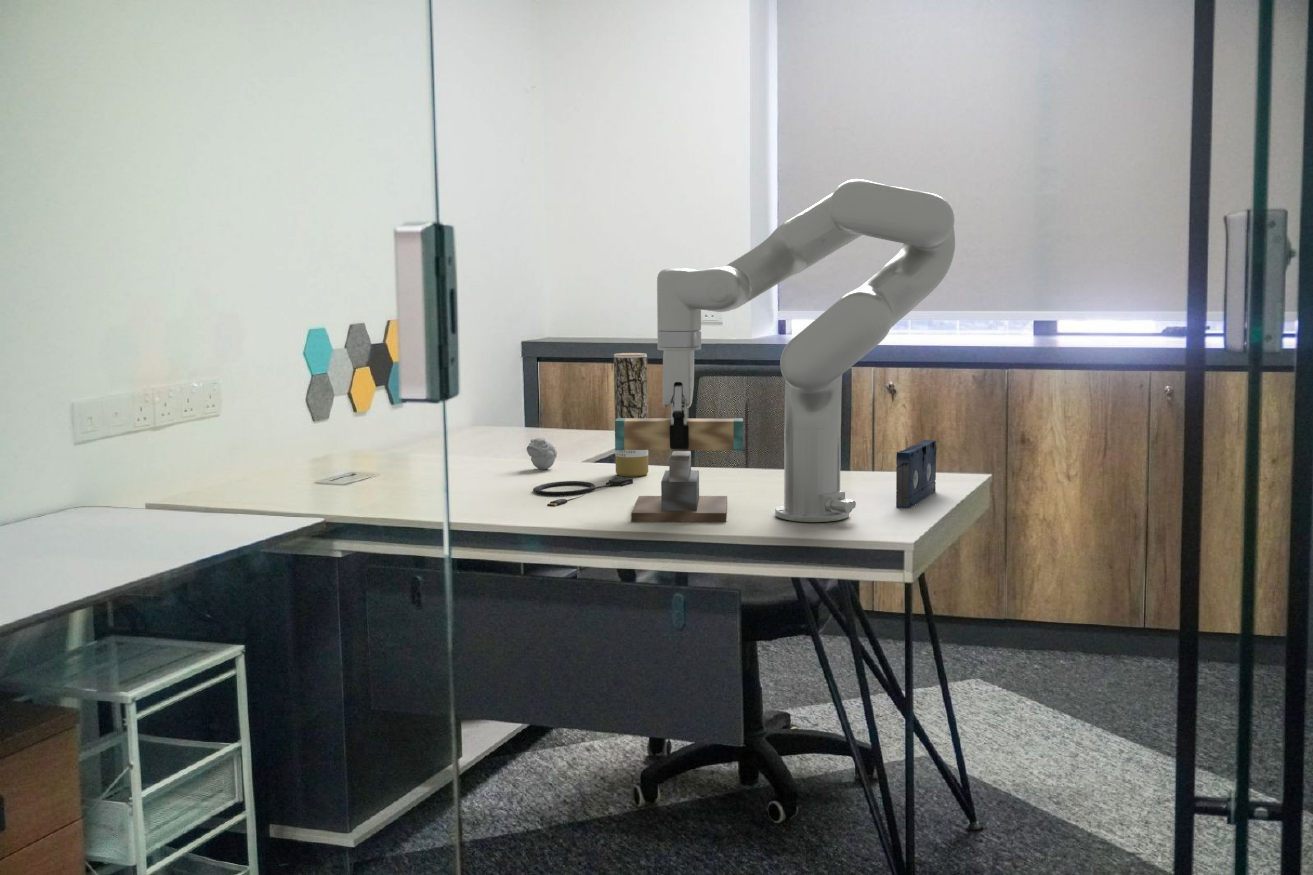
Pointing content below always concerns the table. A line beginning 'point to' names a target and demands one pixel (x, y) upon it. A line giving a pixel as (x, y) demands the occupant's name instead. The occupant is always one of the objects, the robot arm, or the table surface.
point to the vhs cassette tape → (915, 473)
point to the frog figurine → (542, 453)
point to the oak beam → (658, 434)
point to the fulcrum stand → (680, 497)
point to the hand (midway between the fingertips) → (679, 445)
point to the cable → (613, 482)
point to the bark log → (631, 407)
